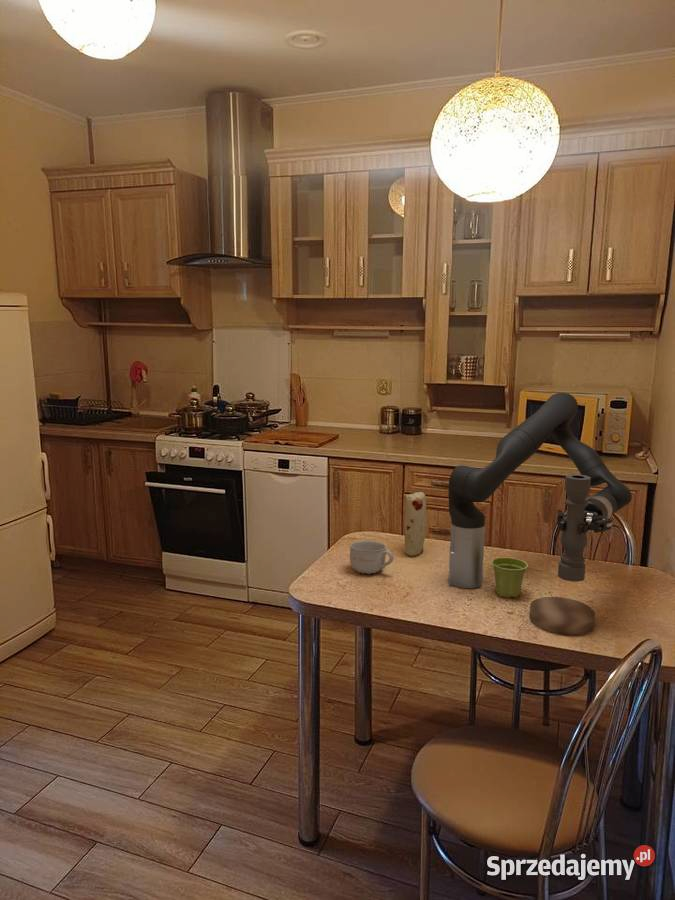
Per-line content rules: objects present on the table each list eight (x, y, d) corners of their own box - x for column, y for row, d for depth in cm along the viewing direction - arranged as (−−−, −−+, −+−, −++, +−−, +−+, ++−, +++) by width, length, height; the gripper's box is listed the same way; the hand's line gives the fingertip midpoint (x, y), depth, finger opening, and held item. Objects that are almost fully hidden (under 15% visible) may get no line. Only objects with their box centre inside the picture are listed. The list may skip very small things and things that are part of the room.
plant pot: (498, 584, 175) (500, 554, 174) (531, 592, 170) (533, 562, 168) (484, 594, 168) (485, 564, 166) (518, 603, 162) (519, 572, 161)
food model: (419, 559, 194) (421, 497, 190) (399, 556, 197) (400, 494, 193) (428, 550, 203) (430, 490, 199) (409, 547, 205) (410, 488, 202)
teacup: (342, 569, 185) (342, 544, 184) (367, 561, 193) (368, 536, 191) (375, 583, 175) (376, 556, 174) (401, 573, 182) (402, 547, 181)
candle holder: (586, 582, 149) (594, 480, 144) (559, 580, 150) (566, 479, 145) (582, 572, 155) (589, 474, 150) (556, 571, 156) (562, 473, 151)
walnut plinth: (534, 633, 146) (535, 621, 146) (525, 606, 161) (525, 595, 160) (601, 637, 144) (602, 625, 144) (586, 609, 159) (587, 598, 158)
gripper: (566, 494, 164) (542, 508, 151) (623, 502, 156) (603, 518, 142) (564, 521, 166) (540, 537, 153) (621, 531, 157) (601, 550, 144)
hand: (571, 528), depth 148 cm, fingers closed on candle holder, 3 cm apart
